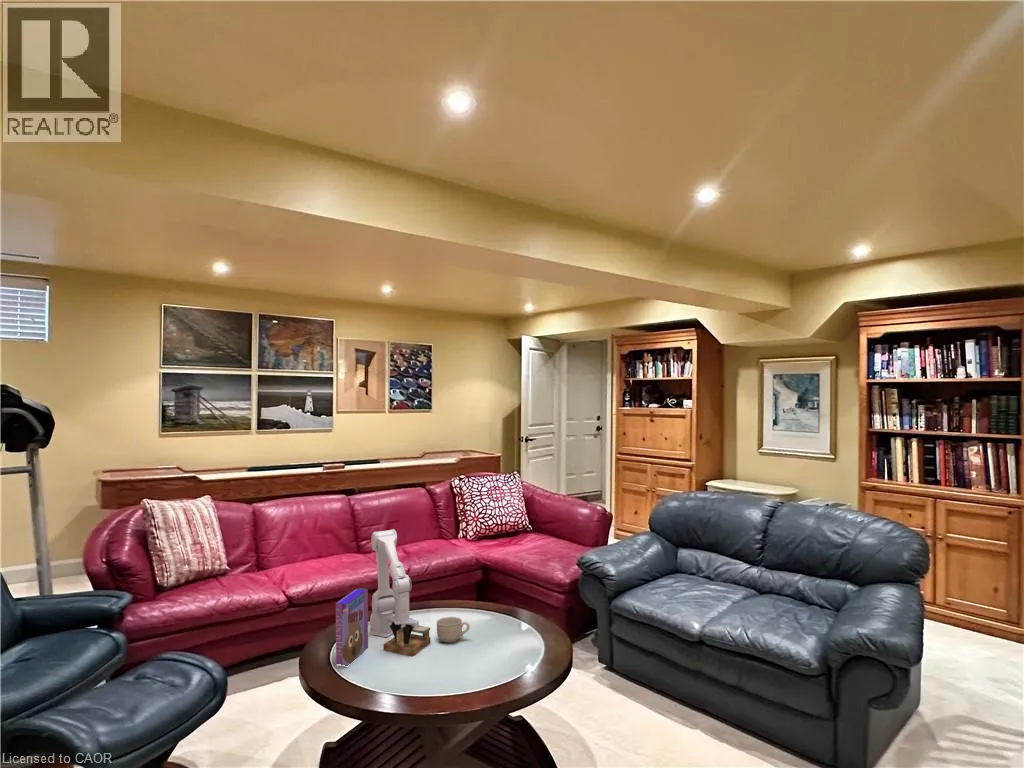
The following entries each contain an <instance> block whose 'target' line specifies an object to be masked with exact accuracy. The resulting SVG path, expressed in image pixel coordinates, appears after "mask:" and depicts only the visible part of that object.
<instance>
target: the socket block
mask: <svg viewBox="0 0 1024 768" xmlns="http://www.w3.org/2000/svg"><path fill="white" fill-rule="evenodd" d="M404 626H406V625H403V624H401V629H402V628H403V627H404ZM430 631H431V627H430V626H425V625H419V626H418V627H416V628H415V627H414V628H413V630H412V632H411V635H410V639H409V643H407V645H406V646H405V647H400V646H397V642H396V641H395V637H394V636H393V638H391V639H389V640H388V641H386V642H385V643H383V644H382V645H383V651H385V652H389V653H395V654H399V655H404V656H408V657H414V656H416V655H417V654H418V653H420V652H421V651H422V650H424V649H425V648H426V647H428V646H429V645H430V644H431V636H430ZM420 634H422V635H420Z"/></svg>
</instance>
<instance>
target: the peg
mask: <svg viewBox="0 0 1024 768" xmlns="http://www.w3.org/2000/svg"><path fill="white" fill-rule="evenodd" d="M406 645H407V644H405V643H404V633H403V629H399V630H398V631H397V646H400V647H405V646H406Z"/></svg>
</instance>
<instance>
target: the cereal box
mask: <svg viewBox="0 0 1024 768" xmlns="http://www.w3.org/2000/svg"><path fill="white" fill-rule="evenodd" d="M368 648H369V591H368V588H364V587H357V588H355V589H354V590H352V591H350V593H348V594H347V595H345V596H344V597H343V598H341V599H340V600H338V601H337V602H335V665H336V664H341V665H345V666H348V665H349V664H351V663H352V662H353V661H354V660H355V659H356V660H357V659H358V658H359V657H360V656H361V655H363V653H364V652H365V651H366V650H367V649H368ZM356 660H355V661H356ZM355 661H354V662H355ZM354 662H353V663H354ZM353 663H352V664H353ZM352 664H351V665H352Z"/></svg>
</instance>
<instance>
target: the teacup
mask: <svg viewBox="0 0 1024 768" xmlns="http://www.w3.org/2000/svg"><path fill="white" fill-rule="evenodd" d="M464 625H465V626H466V629H465V630H463V627H464ZM469 630H470V623H469V621H463V619H462V618H460V617H457V616H447V617H446V616H445V617H442V618H439V619H437V620H436V634H437V637H438V638H439V640H440V641H442V642H445V643H453V642H457V641H458V640H459V638H461V637H462V636H464V634H466V633H467V632H468V631H469Z"/></svg>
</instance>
